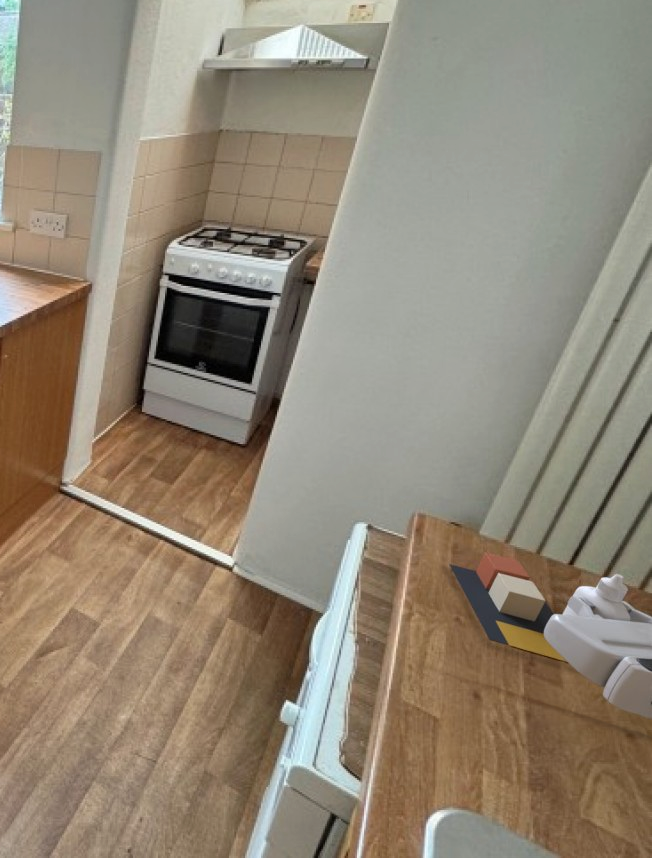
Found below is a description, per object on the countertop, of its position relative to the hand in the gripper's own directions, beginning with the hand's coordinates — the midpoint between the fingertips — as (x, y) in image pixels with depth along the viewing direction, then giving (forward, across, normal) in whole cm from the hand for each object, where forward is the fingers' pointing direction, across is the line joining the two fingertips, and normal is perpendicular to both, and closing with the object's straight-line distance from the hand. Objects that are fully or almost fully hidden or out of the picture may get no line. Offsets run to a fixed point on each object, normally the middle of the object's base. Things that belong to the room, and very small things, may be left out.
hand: (594, 602), depth 81 cm
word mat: (+14, -6, +17) cm, 23 cm away
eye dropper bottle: (-1, 0, +7) cm, 7 cm away
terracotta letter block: (+21, -8, +16) cm, 27 cm away
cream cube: (+15, -6, +16) cm, 23 cm away
